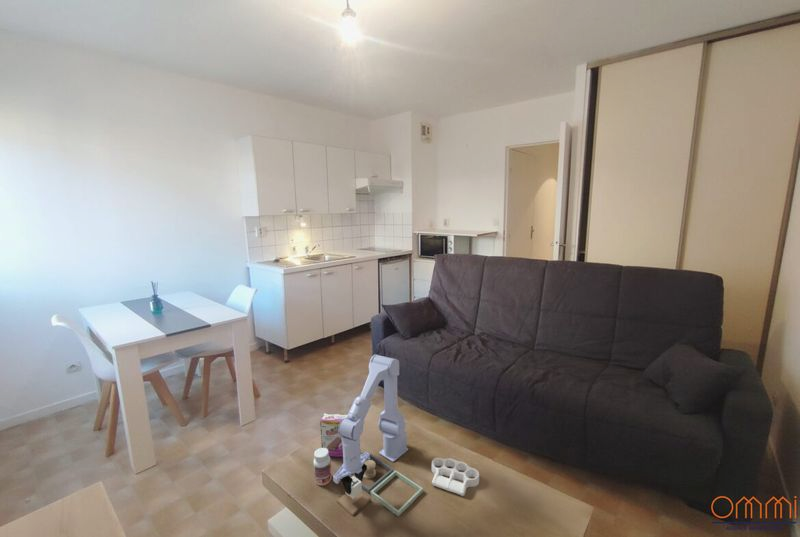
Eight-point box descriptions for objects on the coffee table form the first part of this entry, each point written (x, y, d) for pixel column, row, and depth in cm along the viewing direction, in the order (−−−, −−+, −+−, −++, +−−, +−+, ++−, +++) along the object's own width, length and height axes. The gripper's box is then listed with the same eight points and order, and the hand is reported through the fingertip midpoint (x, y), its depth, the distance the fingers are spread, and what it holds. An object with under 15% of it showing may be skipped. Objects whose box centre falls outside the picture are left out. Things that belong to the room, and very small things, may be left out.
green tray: (395, 473, 131) (395, 470, 131) (422, 491, 123) (422, 488, 122) (370, 495, 122) (370, 491, 121) (398, 516, 113) (398, 512, 113)
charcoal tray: (369, 456, 140) (369, 453, 140) (393, 472, 132) (393, 468, 132) (344, 475, 131) (344, 471, 131) (368, 493, 122) (368, 489, 122)
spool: (369, 467, 135) (369, 457, 134) (378, 473, 132) (378, 464, 131) (359, 474, 131) (359, 465, 130) (369, 481, 128) (368, 471, 127)
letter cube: (354, 485, 121) (353, 475, 121) (361, 491, 119) (361, 481, 118) (345, 492, 118) (344, 482, 118) (352, 499, 116) (352, 488, 115)
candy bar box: (321, 457, 140) (319, 420, 137) (325, 448, 145) (323, 412, 142) (349, 458, 139) (347, 421, 136) (351, 449, 144) (350, 413, 141)
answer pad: (354, 488, 125) (354, 486, 125) (370, 500, 120) (370, 498, 119) (337, 502, 119) (337, 500, 119) (352, 515, 114) (352, 513, 114)
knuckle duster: (423, 484, 126) (437, 458, 139) (472, 502, 119) (482, 472, 132) (423, 476, 126) (437, 451, 139) (472, 493, 118) (482, 464, 131)
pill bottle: (334, 481, 128) (332, 453, 126) (318, 488, 125) (316, 460, 123) (327, 470, 133) (326, 444, 131) (312, 477, 130) (310, 450, 128)
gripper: (342, 471, 108) (344, 509, 110) (375, 446, 119) (376, 481, 121) (328, 460, 112) (330, 497, 115) (361, 438, 123) (362, 471, 126)
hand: (353, 488), depth 118 cm, fingers closed on letter cube, 4 cm apart
